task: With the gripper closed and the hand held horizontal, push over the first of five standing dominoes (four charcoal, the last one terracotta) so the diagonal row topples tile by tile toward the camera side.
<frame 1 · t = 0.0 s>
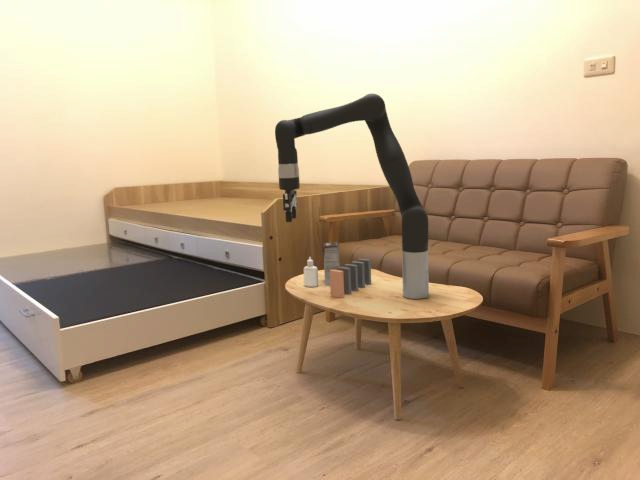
hand: (291, 220, 197), 29 cm above the table, tool pointing down, fingers open, 8 cm apart
domino 5: (337, 296, 200), on the table
coffee box: (332, 282, 220), on the table
domino 4: (344, 293, 204), on the table
domino 2: (358, 286, 212), on the table
domino 3: (351, 289, 208), on the table
domino 1: (364, 283, 215), on the table
eye dropper bottle: (311, 286, 216), on the table
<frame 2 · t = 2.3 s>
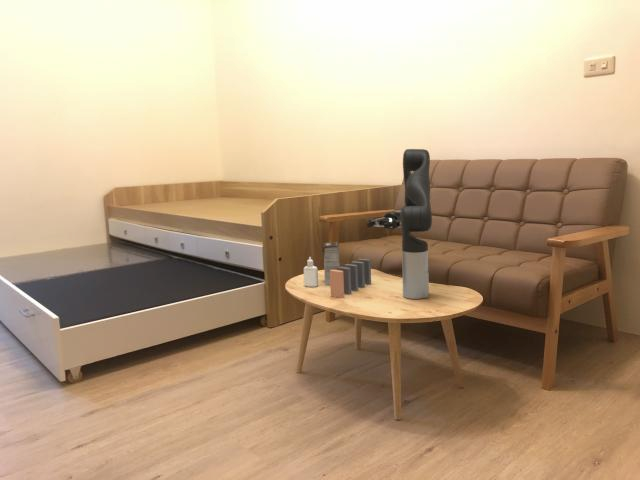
hand: (376, 225, 220), 22 cm above the table, tool horizontal, fingers open, 7 cm apart
nothing on the table moved.
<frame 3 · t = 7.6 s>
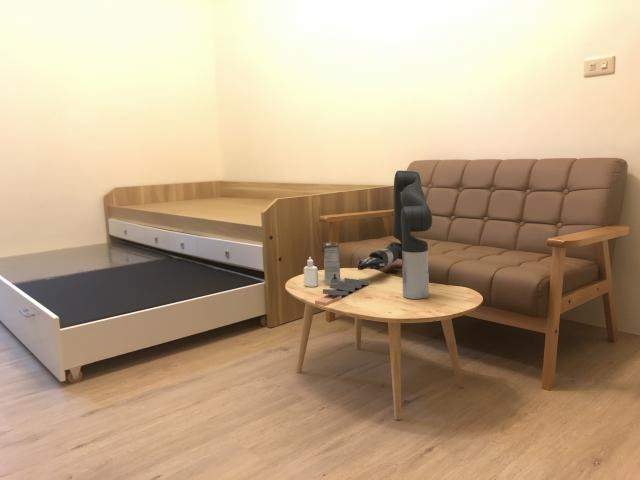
hand: (359, 267, 211), 8 cm above the table, tool horizontal, fingers closed
domino 5: (336, 296, 199), on the table, tilted 90°
domino 4: (342, 292, 202), point 1 cm above the table, tilted 75°, touching domino 3
domino 2: (355, 285, 210), point 1 cm above the table, tilted 71°, touching domino 1, domino 3
domino 3: (349, 288, 206), point 1 cm above the table, tilted 71°, touching domino 2, domino 4
domino 1: (363, 282, 214), point 1 cm above the table, tilted 72°, touching domino 2
everything else where it was.
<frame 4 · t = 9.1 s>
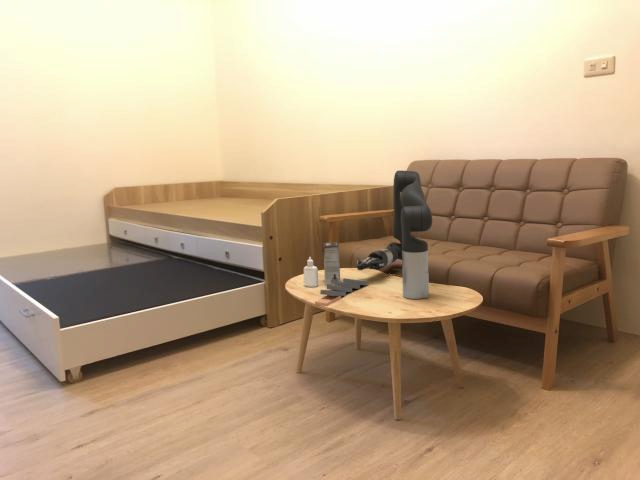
hand: (359, 267, 211), 8 cm above the table, tool horizontal, fingers closed
domino 5: (335, 297, 198), on the table, tilted 90°, touching domino 4
domino 4: (340, 292, 201), point 1 cm above the table, tilted 74°, touching domino 5
domino 2: (354, 286, 210), point 1 cm above the table, tilted 72°, touching domino 3
domino 3: (346, 289, 206), point 1 cm above the table, tilted 72°, touching domino 2
domino 1: (362, 282, 214), point 1 cm above the table, tilted 73°
everything else where it was.
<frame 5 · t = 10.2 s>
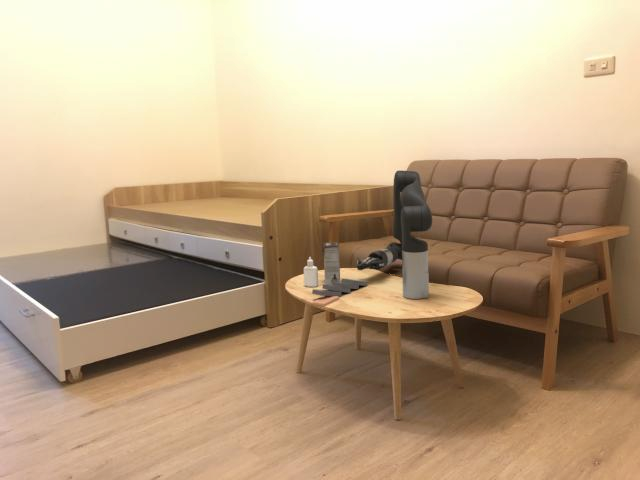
hand: (359, 267, 211), 8 cm above the table, tool horizontal, fingers closed
domino 5: (333, 297, 198), on the table, tilted 90°
domino 4: (336, 292, 201), point 1 cm above the table, tilted 77°, touching domino 3
domino 2: (353, 286, 209), point 1 cm above the table, tilted 73°, touching domino 1, domino 3
domino 3: (345, 289, 205), point 1 cm above the table, tilted 72°, touching domino 2, domino 4
domino 1: (362, 283, 214), point 1 cm above the table, tilted 73°, touching domino 2
everything else where it was.
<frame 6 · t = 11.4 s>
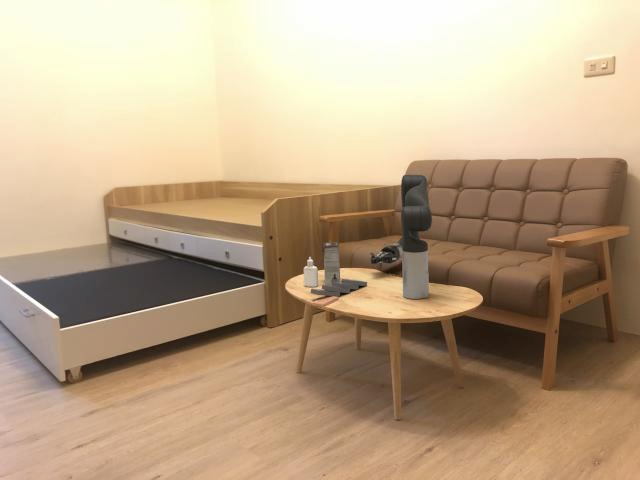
hand: (372, 261, 220), 8 cm above the table, tool horizontal, fingers closed
domino 5: (332, 298, 197), on the table, tilted 90°, touching domino 4
domino 4: (335, 293, 201), point 1 cm above the table, tilted 75°, touching domino 5
domino 3: (345, 290, 204), point 1 cm above the table, tilted 72°, touching domino 2
everything else where it was.
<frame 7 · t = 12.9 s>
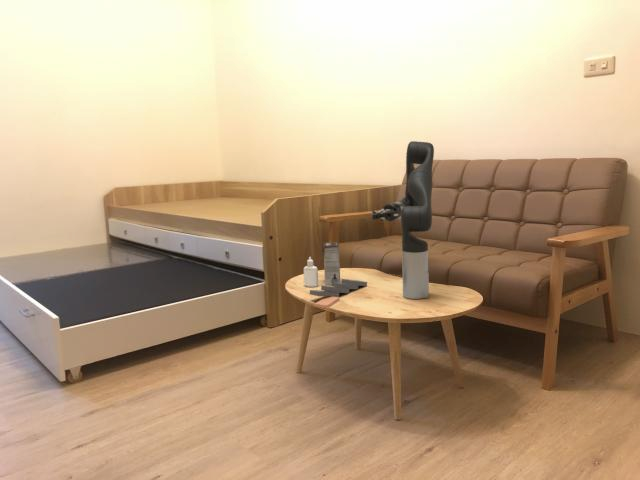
hand: (374, 216, 218), 26 cm above the table, tool horizontal, fingers closed
domino 5: (333, 298, 196), on the table, tilted 90°, touching domino 4
domino 4: (334, 293, 200), point 1 cm above the table, tilted 76°, touching domino 3, domino 5
domino 3: (344, 290, 204), point 1 cm above the table, tilted 73°, touching domino 2, domino 4
everything else where it was.
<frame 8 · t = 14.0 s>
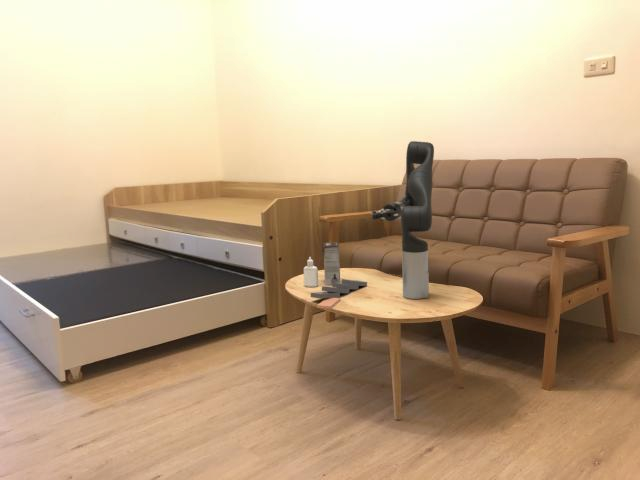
hand: (374, 216, 218), 26 cm above the table, tool horizontal, fingers closed
at the end: domino 5 tilted 90°; domino 1 tilted 74° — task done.
